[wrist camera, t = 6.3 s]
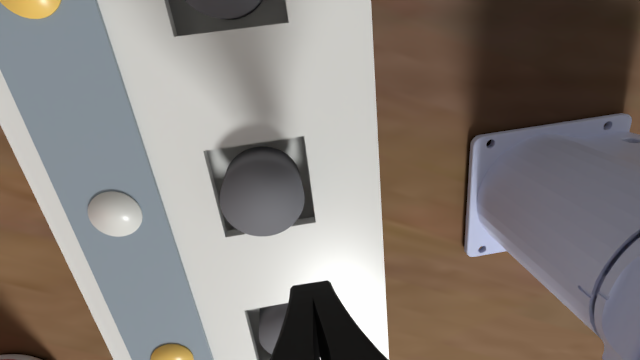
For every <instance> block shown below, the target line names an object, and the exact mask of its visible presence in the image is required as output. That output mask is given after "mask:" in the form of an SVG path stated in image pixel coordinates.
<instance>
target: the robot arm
mask: <svg viewBox="0 0 640 360" xmlns="http://www.w3.org/2000/svg"><path fill="white" fill-rule="evenodd" d="M631 122H632V118H631V116H630V115H628V114H624V113H619V114H613V115H606V116H600V117H593V118H586V119H580V120H573V121H567V122H560V123H554V124H547V125H541V126H534V127H528V128H521V129H514V130H508V131H501V132H495V133H488V134H482V135H478V136H475V137H474V138H473V139H472V141H471V144H470V160H469V177H468V194H467V212H466V229H465V246H464V250H465V252H466V253H467V255H468V256H470V257H476V256H481V255H487V254H493V253H498V252H504V251H507V252H509V253H510V254H511V255H512V256H513V257H514V258H515V259H516V260H517V261H518V262H519V263H520V264H521V265H523V266H524V267H525V268H526V269H527V270H528V271H529V272H530V273H531V274H532V275H533V276H534V277H535V278H536V279H538V280H539V281H540V282H541V283H542V284H543V285H544V286H545V287H546V288H547V289H548V290H549V291H550V292H551V293H553V294H554V295H555V296H556V297H557V298H558V299H559V300H560V301H561V302H562V303H563V304H564V305H565V306H566V307H568V308H569V309H570V310H571V311H572V312H573V313H574V314H575V315H576V316H577V317H578V318H579V319H580V320H581V321H583V322H584V323H585V324H586V325H587V326H588V327H589V328H590V329H591V330H592V331H593V332H594V333H595V334H597V335H598V336H599V337H600V338H601V339H602V341H603V343H604V353H603V356H602V359H603V360H640V135H638V134H635V133H631V132H629V130H630V126H631ZM605 123H606V125H605V127H604V124H605ZM489 140H491V144H490V145H489V146H486V144H487V142H488V141H489ZM481 246H482V248H481V249H479V248H480V247H481ZM320 358H321V360H388V359H387V358H386V357H385V356H384V355H383V354H382V353H381V352H380V351H379V350H378V349H377V347H376V346H375V345H374V344H373V343H372V342H371V341H370V340H369V338H368V337H367V336H366V335H365V334H364V332H363V331H362V330H361V329H360V328H359V326H358V325H357V324H356V322H355V321H354V320H353V318H352V317H351V316H350V314H349V313H348V311H347V310H346V309H345V307H344V306H343V304H342V302H341V301H340V299H339V298H338V296H337V294H336V292H335V290H334V288H333V286H332V284H331V282H329V281H328V280H326V281H320V282H313V283H307V284H300V285H294V286H292V287H291V288H290V295H289V302H288V306H287V310H286V314H285V318H284V321H283V324H282V328H281V331H280V334H279V337H278V340H277V342H276V345H275V347H274V350H273V353H272V355H271V358H270V360H320Z"/></svg>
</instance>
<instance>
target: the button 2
mask: <svg viewBox="0 0 640 360" xmlns="http://www.w3.org/2000/svg"><path fill="white" fill-rule="evenodd" d="M287 306H288V303H284V304H279V305H273V306H268V307H262V308H260V315H259V341H260V344H261V345H262V347H263V348H264V349H265V350H266V351H267V352H268V353H270V354H272V353H273V350H274V347H275V345H276V342H277V340H278V337H279V334H280V331H281V328H282V324H283V321H284V318H285V314H286V310H287Z"/></svg>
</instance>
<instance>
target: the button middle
mask: <svg viewBox="0 0 640 360" xmlns="http://www.w3.org/2000/svg"><path fill="white" fill-rule="evenodd" d="M303 206H304V191H303V186H302V181H301V177H300V172H299V169H298V167H297V165H296V163H295V162H294V161H293V159H292V158H291V157H290V156H288V155H287V154H286V153H284V152H283V151H281V150H279V149H276V148H273V147H267V146H258V147H253V148H249V149H246V150H244V151H242V152H241V153H239V154H238V155H237V156H236V157H235V158H234V159H233V160H232V161H231V163H230V164H229V166H228V168H227V170H226V174H225V177H224V180H223V184H222V187H221V191H220V207H221V210H222V213H223V215H224V217H225V218H226V219H227V221H228V222H229V223H230V224H231V225H232V226H233V227H234V228H236V229H237V230H239V231H241V232H243V233H245V234H248V235H252V236H272V235H276V234H278V233H281V232H283V231H285V230H286V229H288V228H289V227H291V226H292V225H293V224H294V223H295V222H296V221H297V219H298V218H299V216H300V214H301V213H302V210H303Z"/></svg>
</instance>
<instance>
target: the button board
mask: <svg viewBox="0 0 640 360" xmlns="http://www.w3.org/2000/svg"><path fill="white" fill-rule="evenodd" d="M0 125H1V127H2V129H3V131H4V133H5V135H6V137H7V139H8V141H9V143H10V145H11V148H12V150H13V152H14V154H15V156H16V158H17V160H18V162H19V164H20V166H21V168H22V170H23V172H24V175H25V177H26V179H27V181H28V183H29V185H30V187H31V189H32V191H33V193H34V195H35V197H36V199H37V202H38V204H39V206H40V208H41V210H42V212H43V214H44V216H45V218H46V220H47V222H48V224H49V226H50V229H51V231H52V233H53V235H54V237H55V239H56V241H57V243H58V245H59V247H60V249H61V251H62V253H63V256H64V258H65V260H66V262H67V264H68V266H69V268H70V270H71V272H72V274H73V276H74V278H75V280H76V282H77V285H78V287H79V289H80V291H81V293H82V295H83V297H84V299H85V301H86V303H87V305H88V307H89V309H90V312H91V314H92V316H93V318H94V320H95V322H96V324H97V326H98V328H99V330H100V332H101V334H102V336H103V339H104V341H105V343H106V345H107V347H108V349H109V351H110V353H111V355H112V357H113V359H114V360H270V358H271V355H272V354H270V353H268V352H267V351H266V350H265V349H264V348H263V347H262V345H261V344H260V341H259V315H260V308H262V307H268V306H273V305H279V304H284V303H288V302H289V295H290V288H291V287H292V286H294V285H300V284H307V283H313V282H320V281H326V280H328V281H329V282H331V284H332V286H333V288H334V290H335V292H336V294H337V296H338V298H339V299H340V301H341V302H342V304H343V306H344V307H345V309H346V310H347V311H348V313H349V314H350V316H351V317H352V318H353V320H354V321H355V322H356V324H357V325H358V326H359V328H360V329H361V330H362V331H363V332H364V334H365V335H366V336H367V337H368V338H369V340H370V341H371V342H372V343H373V344H374V345H375V346H376V347H377V349H378V350H379V351H380V352H381V353H382V354H383V355H384V356H385V357H386V358H387V359H388V360H389V349H388V330H387V310H386V290H385V270H384V250H383V231H382V211H381V191H380V171H379V152H378V132H377V112H376V92H375V72H374V53H373V33H372V13H371V0H263V1H262V3H261V4H260V5H259V7H258V8H257V9H256V10H255V11H253V12H252V13H251V14H249V15H247V16H245V17H242V18H239V19H234V20H226V19H219V18H215V17H211V16H208V15H205V14H203V13H201V12H199V11H197V10H196V9H194V8H193V7H192V6H190V5H189V4H188V3H187V2H186V1H185V0H0ZM258 146H267V147H273V148H276V149H279V150H281V151H283V152H284V153H286V154H287V155H288V156H290V157H291V158H292V159H293V161H294V162H295V163H296V165H297V167H298V169H299V172H300V177H301V181H302V186H303V191H304V206H303V210H302V213H301V214H300V216H299V218H298V219H297V221H296V222H295V223H294V224H293V225H292V226H291V227H289V228H288V229H286V230H285V231H283V232H281V233H278V234H276V235H272V236H252V235H248V234H245V233H243V232H241V231H239V230H237V229H236V228H234V227H233V226H232V225H231V224H230V223H229V222H228V221H227V219H226V218H225V217H224V215H223V213H222V210H221V207H220V191H221V187H222V184H223V180H224V177H225V174H226V170H227V168H228V166H229V164H230V163H231V161H232V160H233V159H234V158H235V157H236V156H237V155H238V154H239V153H241V152H242V151H244V150H246V149H249V148H253V147H258ZM320 360H321V358H320Z"/></svg>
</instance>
